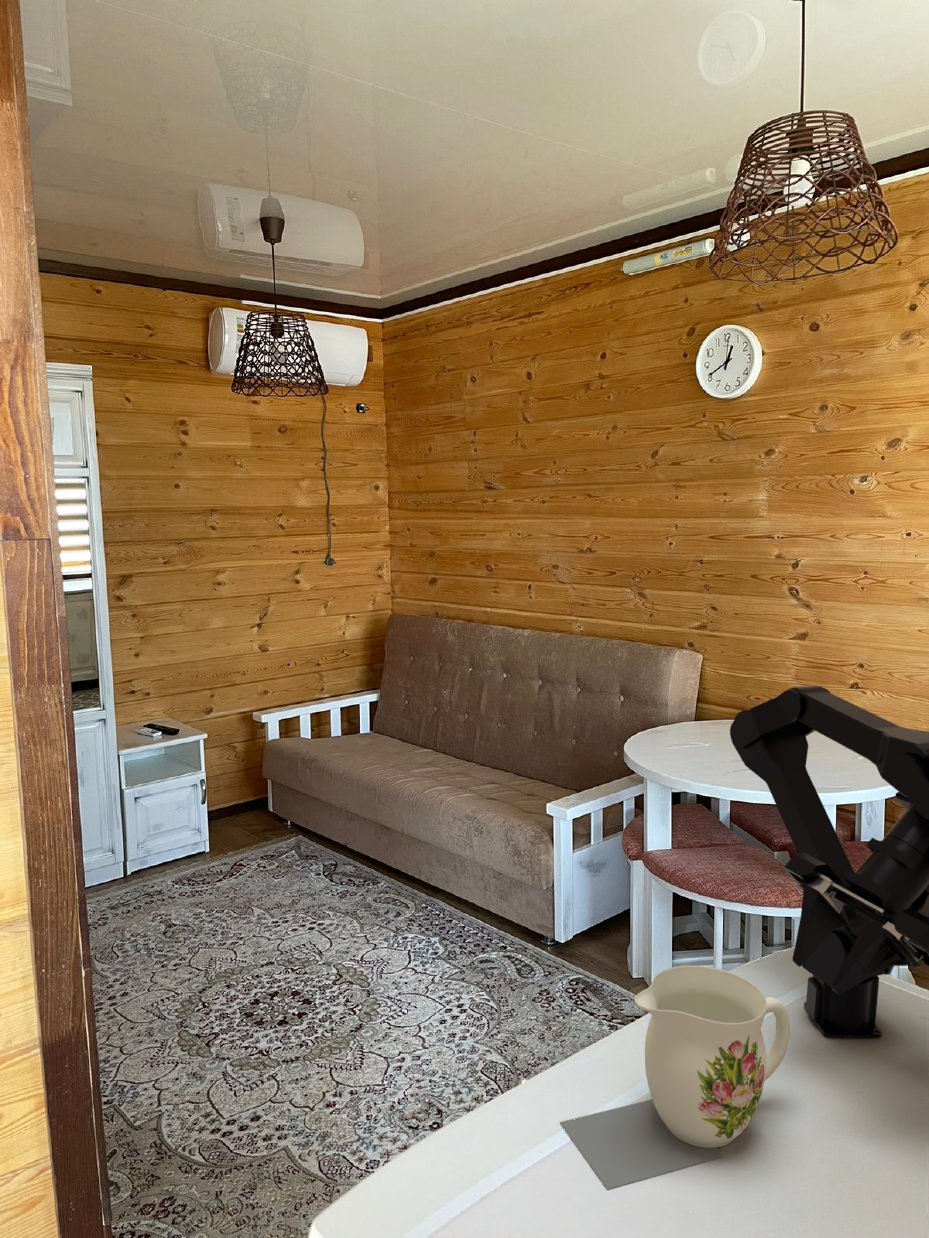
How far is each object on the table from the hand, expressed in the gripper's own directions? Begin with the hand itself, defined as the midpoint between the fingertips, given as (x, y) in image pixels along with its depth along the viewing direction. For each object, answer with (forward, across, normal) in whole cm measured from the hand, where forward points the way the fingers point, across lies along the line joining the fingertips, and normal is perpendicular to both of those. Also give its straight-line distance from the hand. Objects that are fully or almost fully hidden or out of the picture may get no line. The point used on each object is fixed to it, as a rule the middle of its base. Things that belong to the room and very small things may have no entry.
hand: (814, 976), depth 90 cm
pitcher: (+17, 0, -1) cm, 17 cm away
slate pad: (+23, 0, +4) cm, 23 cm away
